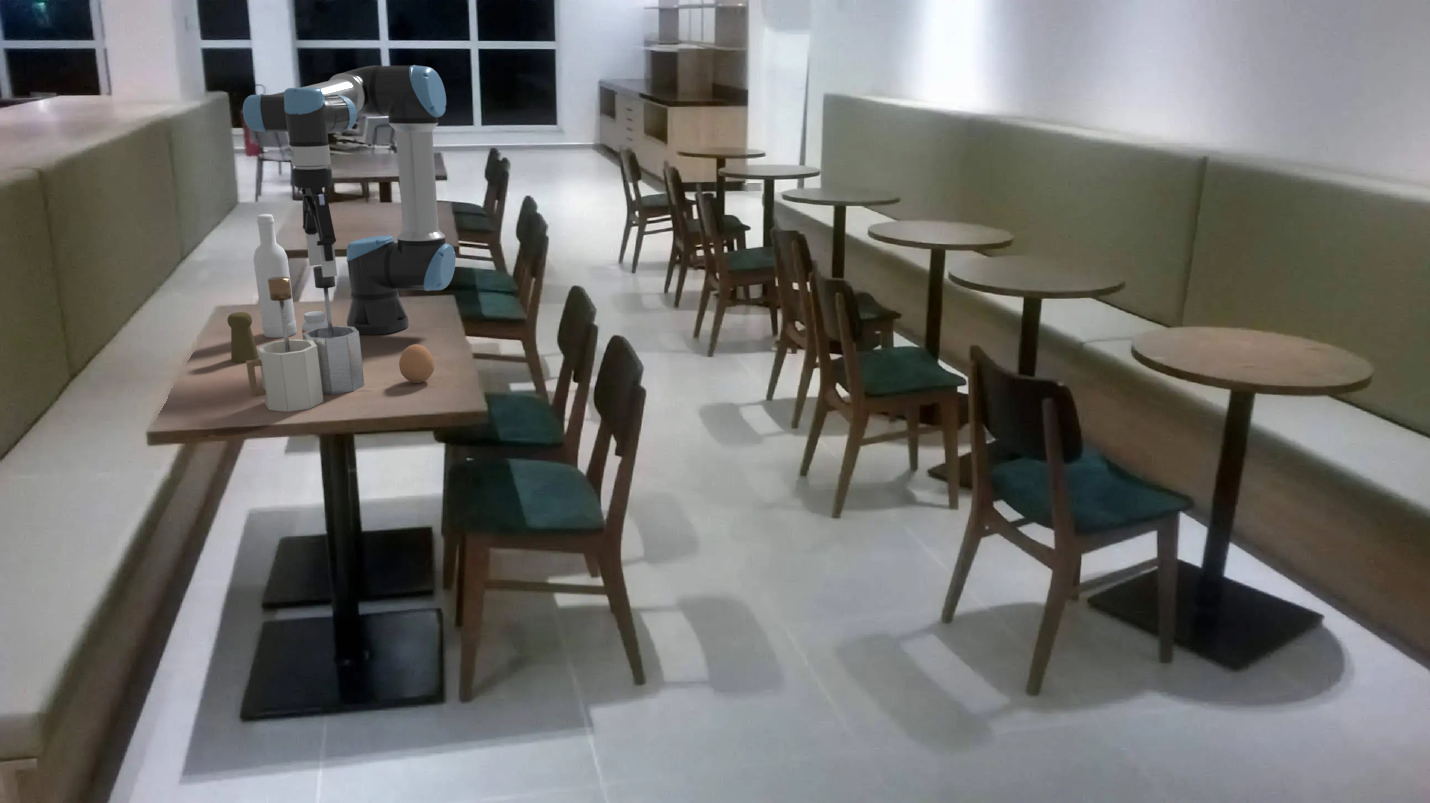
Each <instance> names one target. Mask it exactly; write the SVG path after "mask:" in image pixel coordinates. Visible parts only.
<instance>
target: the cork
mask: <svg viewBox="0 0 1430 803" xmlns="http://www.w3.org/2000/svg"><path fill="white" fill-rule="evenodd" d="M226 321H227V324H228V326H229V327H230V328H231V331H230V338H231V339H230V341H231V343H230V348H231V349H230V351H231V352H230V355H231V356H230V357H231V358H230V360H231V362H233V363H246V361H248V360H255V359H259V354H258V347H257V344H256V342H255V338H254V334H253V330H252V328H251V326H252V323H253V317H252V316H251V314H250V313H249V312H245V311H240V312H239V311H238V312H233V313H230V314H229V315H228V317H227V320H226Z"/></svg>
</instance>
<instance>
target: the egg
mask: <svg viewBox="0 0 1430 803" xmlns="http://www.w3.org/2000/svg"><path fill="white" fill-rule="evenodd" d="M398 364H399V365H398V366H399V371H400V374H401V375H402V377H403V378H405V379H406V380H407V381H408V382H410V383H412V384H413V383H414V384H421V383H424V382H426V381H427V380H428V379H429V378H431V376H432V375H433V373H434V370H435V360H434V357H433V355H432V354H431V352H430V350H428V349H427V347H425V346H424V345H421V344H417V343H415V344H411V345H408V347H406V348H405V349H404V350H403V351H402V354H401V355H400V358H399V362H398Z"/></svg>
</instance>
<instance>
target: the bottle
mask: <svg viewBox="0 0 1430 803" xmlns="http://www.w3.org/2000/svg"><path fill="white" fill-rule="evenodd" d="M256 219H257V220H256V223H257V227H258V234H259V239H260V241H259V242H260V244H259V245H258V247H257V248H256V249H255V250H254V254H253V265H254V271H255V278H256V280H255V281H256V288H257V294H258V295H257V296H258V301H259V309H260V318H261V327H262V328H261V329H262V332H263V336H264V337H266V338H271V339H272V338H273V339H279V338H280V339H282V338H284V335H283V328H282V320H281V312H280V304H279V301H273V300H271V299H270V292H269V285H268V279H269V278H273V277H289V279H290V280H291V276H290V268H289V261H288V260H289V259H288V255H287V253H286V251H285V248H284V247H283V246H281V245H280V244H279V243H277V237H276V229H275V219H274V216H273V214H271V213H264V214H263V213H262V214H258V215H256ZM290 287H291V288H292V283H291V282H290ZM291 295H292V296H293V291H292V290H291ZM284 306H285V313H286V321H287V329H288V337H291V336H294V335H296V334H297V321H296V316H295V315H296V314H295V308H294V301H293V297H292V298H291V299H289V300H284Z"/></svg>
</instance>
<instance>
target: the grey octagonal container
mask: <svg viewBox="0 0 1430 803" xmlns="http://www.w3.org/2000/svg"><path fill="white" fill-rule="evenodd" d="M332 328H333V338H329V332H328V327H320V328H314V329H312V330H309V331H307V332H304V333H302V340H312V341H313V342H314V343H315V344H316V345H317V351H318V359H319V368H320V376H321V384H322V393H323V395H336V394H344V393H351V392H354V391H356V390H358V389H361V388H362V387H364V386H365V378H364V368H363V359H362V358H363V357H362V349H361V348H362V347H361V340H360V339H361V338H360V334H359V331H358V330H357V329H356V328H355V327H349V326H347V325H332Z"/></svg>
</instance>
